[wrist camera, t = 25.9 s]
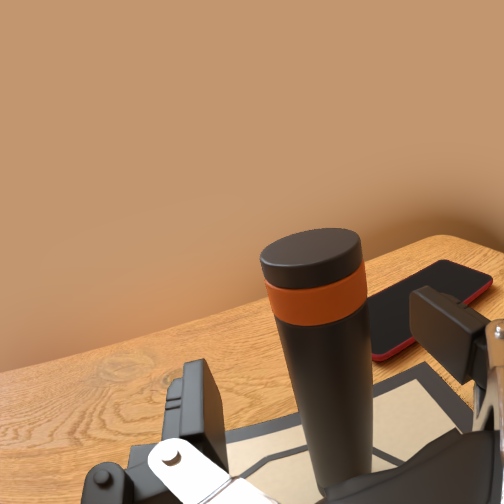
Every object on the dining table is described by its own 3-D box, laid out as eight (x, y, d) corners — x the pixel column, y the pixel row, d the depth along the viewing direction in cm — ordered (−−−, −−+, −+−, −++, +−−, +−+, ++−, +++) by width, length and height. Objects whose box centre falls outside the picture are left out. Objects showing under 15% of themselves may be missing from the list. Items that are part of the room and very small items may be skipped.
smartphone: (325, 317, 26) (442, 257, 29) (326, 325, 26) (442, 265, 29) (377, 359, 19) (496, 277, 22) (377, 369, 19) (495, 285, 22)
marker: (360, 452, 13) (337, 221, 9) (379, 490, 10) (380, 243, 7) (310, 470, 13) (251, 244, 9) (324, 510, 10) (268, 277, 7)
